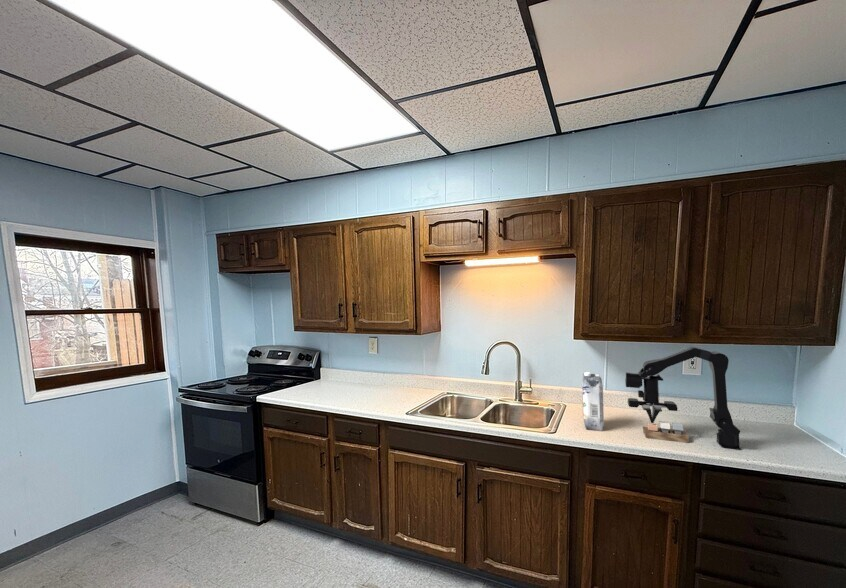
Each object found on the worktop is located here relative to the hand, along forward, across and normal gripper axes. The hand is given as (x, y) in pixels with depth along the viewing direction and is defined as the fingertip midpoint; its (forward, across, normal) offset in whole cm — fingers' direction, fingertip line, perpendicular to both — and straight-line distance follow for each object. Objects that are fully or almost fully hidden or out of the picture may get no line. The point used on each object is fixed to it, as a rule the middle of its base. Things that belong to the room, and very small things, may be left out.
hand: (652, 422), depth 163 cm
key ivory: (+4, -5, 0) cm, 6 cm away
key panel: (+6, -5, 0) cm, 8 cm away
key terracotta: (+6, 0, 0) cm, 6 cm away
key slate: (+4, -10, 0) cm, 11 cm away
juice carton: (+6, +24, -3) cm, 25 cm away
